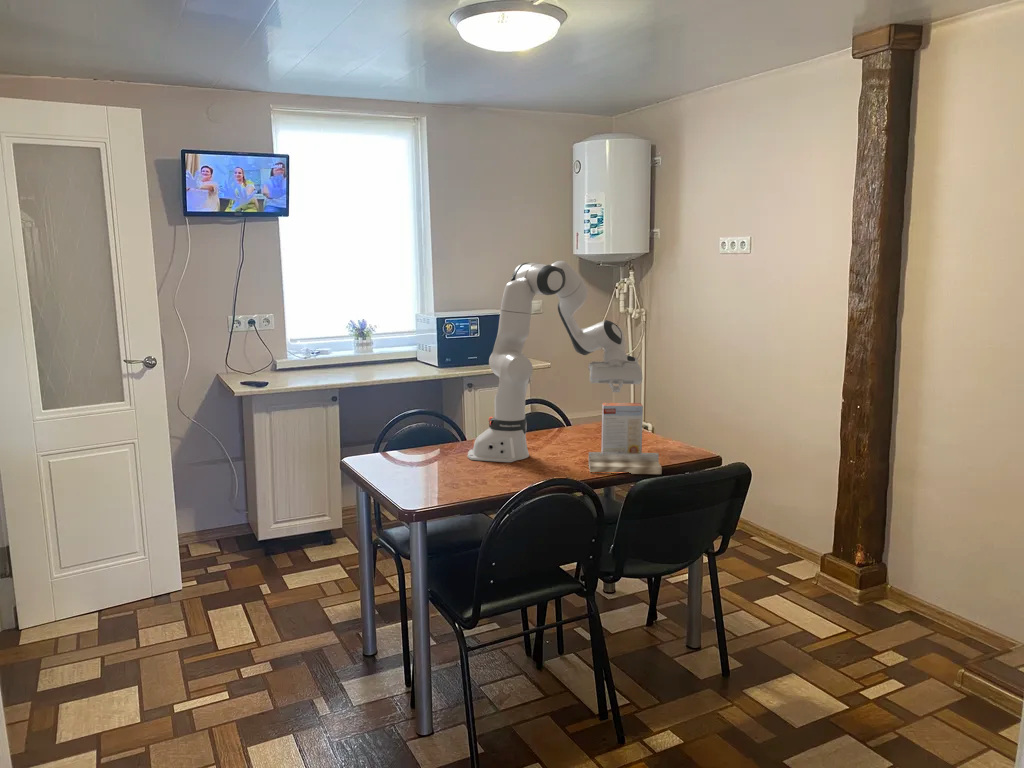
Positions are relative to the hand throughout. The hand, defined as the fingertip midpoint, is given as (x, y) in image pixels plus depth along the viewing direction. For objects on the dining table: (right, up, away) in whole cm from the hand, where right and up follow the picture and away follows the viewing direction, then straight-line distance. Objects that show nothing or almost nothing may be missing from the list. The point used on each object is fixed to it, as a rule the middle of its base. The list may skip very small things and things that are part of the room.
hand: (616, 391), depth 294 cm
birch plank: (-1, -27, -29) cm, 39 cm away
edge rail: (-1, -26, -24) cm, 36 cm away
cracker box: (-1, -25, -16) cm, 30 cm away
